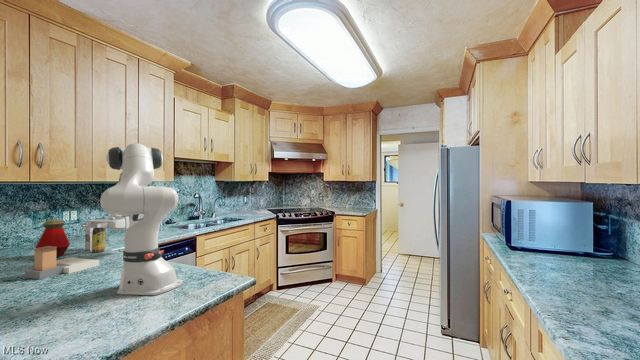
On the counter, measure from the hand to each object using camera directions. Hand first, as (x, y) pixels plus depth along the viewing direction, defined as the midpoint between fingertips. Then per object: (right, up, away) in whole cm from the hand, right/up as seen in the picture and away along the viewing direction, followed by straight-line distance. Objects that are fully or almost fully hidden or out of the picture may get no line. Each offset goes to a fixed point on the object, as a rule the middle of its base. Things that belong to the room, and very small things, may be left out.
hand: (89, 225), depth 134 cm
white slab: (-8, -19, -7) cm, 22 cm away
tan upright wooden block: (-7, -19, -14) cm, 25 cm away
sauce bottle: (-17, -20, +27) cm, 38 cm away
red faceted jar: (-34, -20, +17) cm, 43 cm away
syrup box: (-26, -20, +33) cm, 47 cm away
